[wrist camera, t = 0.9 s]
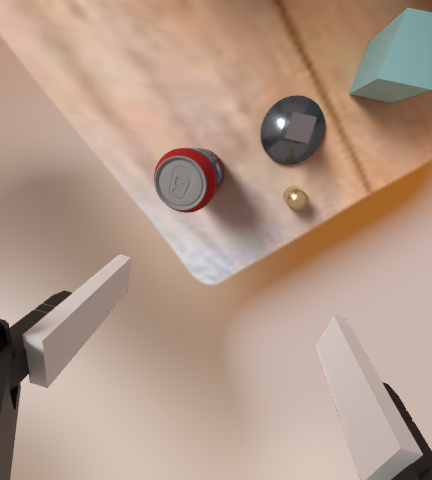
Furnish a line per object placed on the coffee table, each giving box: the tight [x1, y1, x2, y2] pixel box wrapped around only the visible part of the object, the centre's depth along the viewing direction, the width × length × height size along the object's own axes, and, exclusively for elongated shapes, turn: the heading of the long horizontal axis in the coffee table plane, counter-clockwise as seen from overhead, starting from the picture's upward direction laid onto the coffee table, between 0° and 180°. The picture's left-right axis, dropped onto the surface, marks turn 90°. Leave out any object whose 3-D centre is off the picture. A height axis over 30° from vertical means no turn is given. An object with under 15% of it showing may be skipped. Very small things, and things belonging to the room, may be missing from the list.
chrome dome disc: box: [261, 96, 325, 164], centre depth 27 cm, size 8×8×6 cm
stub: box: [283, 186, 309, 211], centre depth 31 cm, size 3×3×4 cm
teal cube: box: [349, 7, 432, 103], centre depth 23 cm, size 5×5×7 cm
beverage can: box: [154, 148, 224, 212], centre depth 28 cm, size 7×7×12 cm
